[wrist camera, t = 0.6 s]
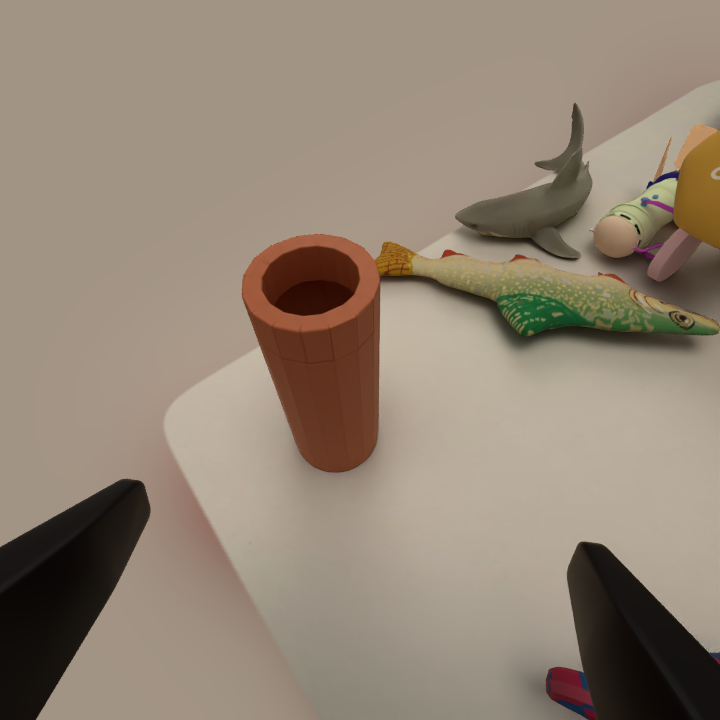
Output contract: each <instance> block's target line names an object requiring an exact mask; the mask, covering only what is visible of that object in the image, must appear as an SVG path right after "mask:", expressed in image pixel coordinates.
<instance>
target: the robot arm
mask: <svg viewBox="0 0 720 720" xmlns="http://www.w3.org/2000/svg"><path fill="white" fill-rule="evenodd" d="M149 516H150V504H149V500H148V496H147V493H146V489H145V486H144V484H143V483H142V482H141V481H139V480H131V479H122V480H119V481H117V482H115V483H114V484H112V485H111V486H108V487H107V488H105V489H103V490H101V491H99V492H98V493H96V494H94V495H92V496H91V497H89V498H87V499H85V500H83V501H82V502H80V503H78V504H76V505H75V506H73V507H71V508H69V509H67V510H66V511H64V512H62V513H60V514H58V515H57V516H55V517H53V518H51V519H49V520H48V521H46V522H44V523H43V524H41V525H39V526H37V527H35V528H33V529H32V530H30V531H28V532H26V533H24V534H23V535H21V536H19V537H17V538H16V539H14V540H12V541H10V542H8V543H7V544H5V545H3V546H1V547H0V720H36V718H37V717H38V715H39V714H40V712H41V710H42V709H43V707H44V705H45V704H46V702H47V700H48V699H49V697H50V695H51V693H52V692H53V690H54V689H55V687H56V685H57V684H58V682H59V680H60V679H61V677H62V675H63V673H64V672H65V670H66V668H67V667H68V665H69V664H70V662H71V660H72V659H73V657H74V656H75V654H76V652H77V650H78V649H79V647H80V646H81V644H82V642H83V640H84V639H85V637H86V636H87V634H88V632H89V631H90V629H91V627H92V626H93V624H94V622H95V621H96V619H97V617H98V616H99V614H100V612H101V611H102V609H103V608H104V606H105V604H106V603H107V601H108V599H109V597H110V596H111V594H112V592H113V590H114V589H115V587H116V585H117V583H118V581H119V579H120V577H121V575H122V573H123V571H124V569H125V567H126V565H127V563H128V561H129V559H130V557H131V554H132V552H133V550H134V548H135V546H136V544H137V542H138V540H139V538H140V536H141V534H142V532H143V530H144V528H145V526H146V523H147V521H148V519H149ZM567 581H568V587H569V593H570V599H571V605H572V611H573V616H574V622H575V628H576V634H577V640H578V645H579V651H580V656H581V661H582V666H583V670H584V674H585V678H586V682H587V686H588V689H589V693H590V697H591V700H592V704H593V708H594V711H595V715H596V718H597V720H720V664H719V663H718V662H717V661H716V660H715V659H714V658H713V657H712V656H711V655H710V654H709V652H708V651H707V650H706V649H705V648H704V647H703V646H702V645H701V644H700V643H699V642H698V641H697V640H696V639H695V638H694V637H693V636H692V635H691V634H690V633H689V632H688V631H687V630H686V629H685V628H684V627H683V626H682V625H681V624H680V623H679V622H678V621H677V619H676V618H675V617H674V616H673V615H672V614H671V613H670V612H669V611H668V610H667V609H666V608H665V607H664V606H663V605H662V604H661V603H660V602H659V601H658V600H657V599H656V598H655V597H654V596H653V595H652V594H651V593H650V592H649V591H648V590H647V589H646V587H645V586H644V585H643V584H642V583H641V582H640V581H639V580H638V579H637V578H636V577H635V576H634V575H633V574H632V573H631V572H630V571H629V570H628V569H627V568H626V567H625V566H624V565H623V564H622V563H621V562H620V561H619V560H618V559H617V558H616V557H615V556H614V554H613V553H612V552H611V551H610V550H609V549H608V548H607V547H605V546H604V545H602V544H598V543H591V542H580V543H579V544H578V545H577V547H576V550H575V552H574V554H573V557H572V559H571V562H570V564H569V566H568V570H567Z"/></svg>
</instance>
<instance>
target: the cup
mask: <svg viewBox="0 0 720 720" xmlns="http://www.w3.org/2000/svg"><path fill="white" fill-rule="evenodd" d="M709 654H710V655H711V656H712V657H713V658H714V659H715V660H716V661H717V662H718V663H719V664H720V653H709ZM546 692H547V694H548V696H549V697H550V698H551V699H552V700H553V701H555V702H557V703H559V704H561V705H563V706H565V707H566V708H568V709H570V710H572V711H574V712H576V713H578V714H580V715H582V716H583V717H585V718H587V719H589V720H597V718H596V715H595V711H594V708H593V704H592V700H591V697H590V693H589V689H588V686H587V682H586V678H585V674H584V673H583V672H579V671H576V670H572V669H568V668H563V667H555V668H552V669H549V671H548V674H547V678H546Z"/></svg>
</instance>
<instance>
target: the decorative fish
mask: <svg viewBox="0 0 720 720" xmlns="http://www.w3.org/2000/svg"><path fill="white" fill-rule="evenodd" d="M375 261H376V263H377V267H378V272H379V275H388V276H405V275H419V276H426V277H430V278H433V279H436V280H437V281H438V282H440V283H441V284H443V285H446V286H448V287H452V288H456V289H459V290H463V291H466V292H469V293H472V294H475V295H479V296H482V297H485V298H489V299H491V300H493V301H494V302H496V303H497V306H498V308H499V310H500V312H501V313H502V315H503V316H504V317H505V318H506V320H507V321H508V323H509V324H510V325H511V326H512V327H513V328H514V329H515V330H516V331H517V332H518V333H519V334H521V335H523V336H532V335H535V334H538V333H539V332H541V331H543V330H548V329H555V328H560V327H564V326H583V327H590V328H595V329H602V330H609V331H623V332H648V333H665V334H685V335H715V334H718V333H719V330H720V327H719V324H718V323H717V322H716V321H714V320H713V319H710V318H707V317H704V316H702V315H699V314H696V313H694V312H691V311H688V310H686V309H683V308H680V307H677V306H675V305H672V304H669V303H666V302H664V301H661V300H659V299H656V298H653V297H649V296H647V295H644V294H641V293H639V292H637V291H635V290H633V289H632V288H630V287H629V286H628V285H627V284H626V283H625V282H624V281H622V280H621V279H620V278H619V277H618V276H616V275H615V274H605V275H603V274H601V273H598V276H591V277H589V276H583V275H577V274H573V273H568V272H564V271H560V270H556V269H553V268H551V267H549V266H547V265H544V264H542V263H541V262H539V261H538V260H537V259H530V258H527V257H525V256H522V255H515V257H514V258H513V259H512V260H511V261H509V262H504V263H494V262H486V261H480V260H477V259H473V258H471V257H469V256H467V255H464V254H459V253H456V252H454V251H452V250H445V251H444V253H443V255H442V258H440V259H436V260H432V259H427V258H424V257H422V256H419V255H418V254H416V253H414V252H412V251H410V250H409V249H407V248H404V247H402V246H400V245H398V244H395V243H392V242H384V244H383V245H382V251H381V254H380V256H379V257H378V258H377V259H376V260H375Z"/></svg>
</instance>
